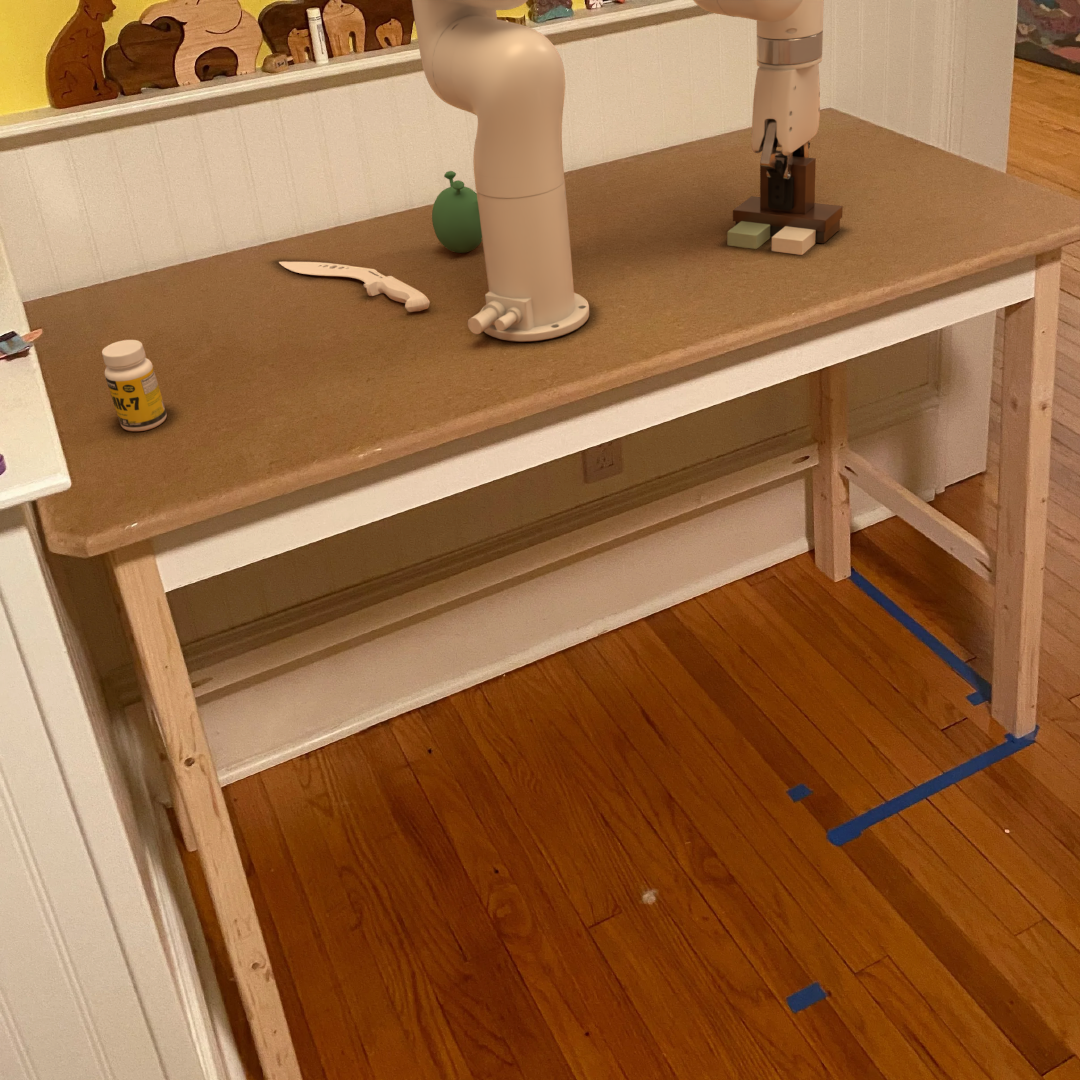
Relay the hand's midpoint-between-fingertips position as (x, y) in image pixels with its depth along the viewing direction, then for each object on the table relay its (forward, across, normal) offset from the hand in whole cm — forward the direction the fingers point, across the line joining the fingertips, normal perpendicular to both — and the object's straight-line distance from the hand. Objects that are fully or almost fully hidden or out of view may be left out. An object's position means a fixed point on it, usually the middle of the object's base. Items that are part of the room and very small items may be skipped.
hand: (787, 202), depth 152 cm
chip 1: (+4, +5, -3) cm, 7 cm away
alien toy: (+4, +20, -36) cm, 41 cm away
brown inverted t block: (+4, 0, 0) cm, 4 cm away
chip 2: (+4, +5, +3) cm, 7 cm away
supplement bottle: (+4, +72, -39) cm, 82 cm away
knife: (+4, +35, -43) cm, 56 cm away
